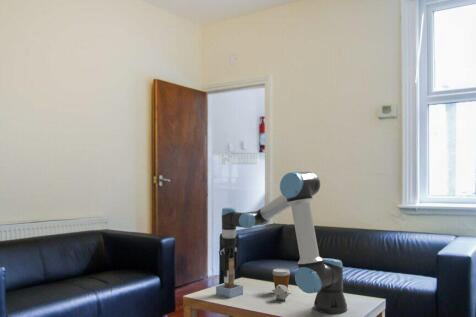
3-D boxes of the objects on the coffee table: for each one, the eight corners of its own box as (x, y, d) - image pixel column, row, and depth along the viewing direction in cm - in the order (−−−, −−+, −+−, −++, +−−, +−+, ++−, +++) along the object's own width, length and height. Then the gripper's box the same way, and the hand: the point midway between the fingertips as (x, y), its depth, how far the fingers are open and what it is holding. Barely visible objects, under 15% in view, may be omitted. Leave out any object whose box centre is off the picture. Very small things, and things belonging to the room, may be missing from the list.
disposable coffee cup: (289, 295, 232) (289, 272, 232) (271, 294, 234) (271, 271, 234) (291, 291, 241) (290, 268, 242) (273, 290, 243) (273, 268, 244)
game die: (284, 307, 225) (296, 290, 225) (278, 305, 218) (290, 288, 218) (272, 295, 230) (283, 279, 230) (265, 293, 223) (277, 277, 224)
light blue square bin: (242, 294, 236) (242, 285, 236) (230, 298, 228) (230, 289, 228) (229, 291, 242) (228, 282, 242) (216, 295, 235) (215, 286, 235)
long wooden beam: (233, 288, 236) (233, 258, 236) (229, 290, 233) (229, 259, 233) (229, 287, 238) (228, 257, 238) (224, 288, 235) (224, 258, 236)
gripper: (234, 234, 245) (234, 278, 244) (212, 238, 232) (213, 283, 232) (244, 236, 240) (244, 280, 239) (223, 239, 227) (223, 286, 227)
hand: (229, 281), depth 235 cm, fingers closed on long wooden beam, 3 cm apart
